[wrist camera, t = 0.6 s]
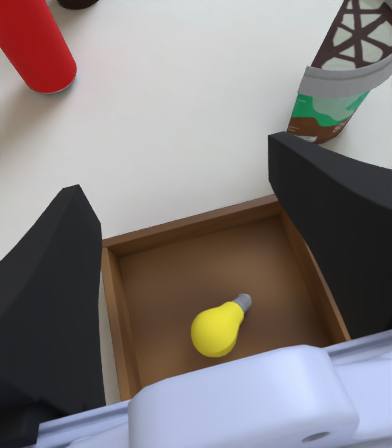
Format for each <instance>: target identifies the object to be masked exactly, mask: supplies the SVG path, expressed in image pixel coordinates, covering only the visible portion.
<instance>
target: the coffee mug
mask: <svg viewBox="0 0 392 448" xmlns="http://www.w3.org/2000/svg"><path fill="white" fill-rule="evenodd" d="M57 1H58V3H59V4H60V5H61V6H63V7H64V8H67V9H74V10H76V9H83V8H86V7H89V6H91V5H93V4H94V3H96V2H97V1H98V0H57Z"/></svg>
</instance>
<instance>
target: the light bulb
mask: <svg viewBox="0 0 392 448" xmlns="http://www.w3.org/2000/svg"><path fill="white" fill-rule="evenodd" d="M251 306H252V302H251V297H250V296H249V295H248V294H242V293H241V294H238V296H236V297H235V298H234V300H232V302H226V303H224V304H223V305H221V306H220V307H216V308H212V309H208V310H205V311H203V312H201V313H200V314H198V315H197V317H196V318H195V319H194V321H193V323H192V326H191V338H192V341H193V344H194V346H195V348H196V349H197V350H198V351H199V352H200V353H201V354H203V355H205V356H207V357H221V356H224V355H226V354H227V353H229V352H230V351H231V350H232V348H233V347H234V345H235V343H236V339H237V336H238V331H239V326H240V325H241V323H242V321H243V320H244V314H245V312H247V310H248V309H250V307H251Z"/></svg>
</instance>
